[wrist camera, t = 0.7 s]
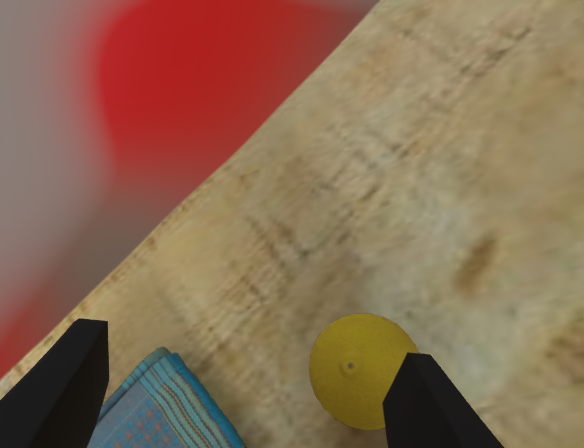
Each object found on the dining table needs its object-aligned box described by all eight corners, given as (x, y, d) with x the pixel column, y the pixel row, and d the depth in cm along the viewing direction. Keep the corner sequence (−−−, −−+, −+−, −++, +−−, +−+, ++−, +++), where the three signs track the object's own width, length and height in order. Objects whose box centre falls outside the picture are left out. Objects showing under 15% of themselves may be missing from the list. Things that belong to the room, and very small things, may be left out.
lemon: (326, 416, 26) (280, 425, 19) (335, 321, 28) (296, 295, 20) (425, 432, 24) (415, 449, 17) (427, 329, 26) (420, 304, 19)
